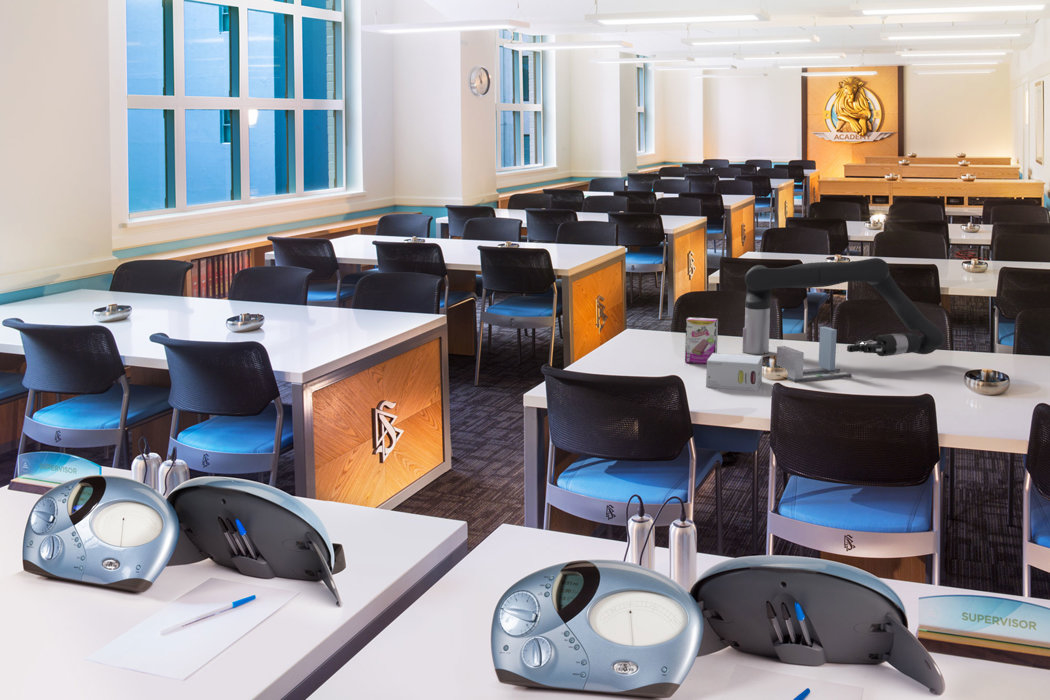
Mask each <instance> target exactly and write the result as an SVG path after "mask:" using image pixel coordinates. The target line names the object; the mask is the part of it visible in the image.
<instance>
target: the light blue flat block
mask: <svg viewBox="0 0 1050 700" xmlns="http://www.w3.org/2000/svg"><path fill="white" fill-rule="evenodd" d="M837 331H838V330H837V329H835V328H832V327H828V326H820V327H819V344H818V345H819V347H818V368H825V369H827V370H832V372H835V373H839V372H837V371H834V370H835V368H836V353H837V352H836V351H837Z"/></svg>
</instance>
